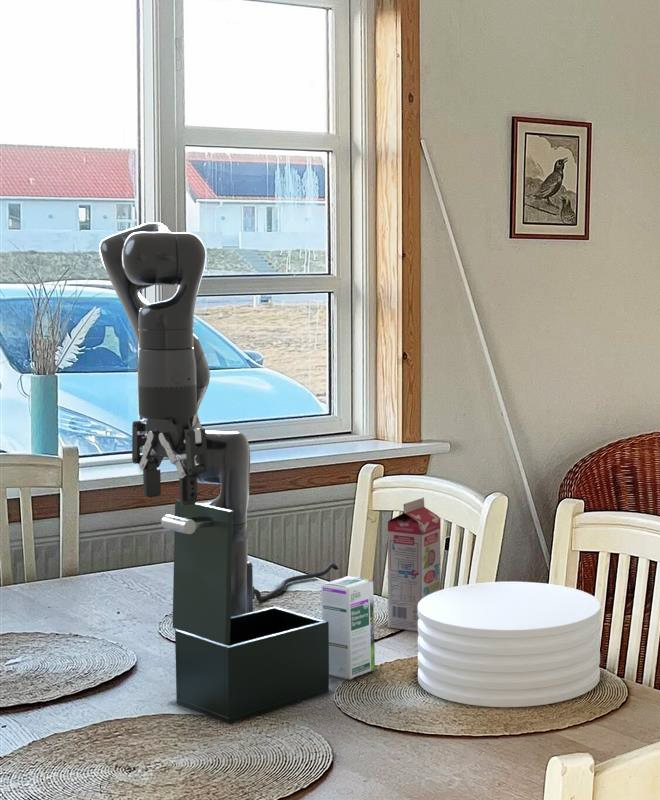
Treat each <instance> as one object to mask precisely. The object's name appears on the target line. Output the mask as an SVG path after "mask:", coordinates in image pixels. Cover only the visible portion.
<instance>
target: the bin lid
mask: <svg viewBox="0 0 660 800" xmlns="http://www.w3.org/2000/svg"><path fill="white" fill-rule="evenodd" d="M160 525H161V527H162V528H164V529H165V530H170V531H174V534H173V535H174V537H173V580H172V581H173V583H172V585H173V586H172V628H173V629H174V630H175V629H176V630H181V631H184V632H187V633H190V634H193V635H196V636H200V637H203V638H206V639H209V640H212V641H215V642H218V643H221V644H224V645H228V644H230V623H231V581H232V539H233V511H231V510H227V509H222V508H218V507H213V506H209V505H204V504H202V503H199V502H196V503H195V504H191V505H182V504H180V498H177V499H174V515H173V514H165V515H163V516H162V518H161V520H160Z"/></svg>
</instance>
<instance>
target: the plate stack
mask: <svg viewBox="0 0 660 800" xmlns="http://www.w3.org/2000/svg"><path fill="white" fill-rule="evenodd" d="M601 614H602V605H601V602H600V601H599V599H598V598H597V597H596V596H594V595H592V594H591V593H589V592H586V591H583V590H581V589H577V588H573V587H569V586H565V585H559V584H555V583H554V584H553V583H545V582H532V581H489V582H488V581H487V582H476V583H468V584H461V585H455V586H451V587H448V588H443V589H440V590H439V591H436V592H434V593H431V594H429V595H427V596H426V597H424V598H423V599H422V600H421V601H420V602H419V603H418V617H419V620H418V631H417V633H418V635H417V650H418V652H417V665H418V669H417V682H418V684H419V686H420V687H421V688H422V689H423V690H424V691H425V692H427V693H429V694H431V695H433V696H434V697H438V698H439V699H443V700H446V701H449V702H452V703H453V702H454V703H458V704H463V705H469V706H478V707H487V708H489V707H490V708H524V707H525V708H527V707H535V706H536V707H537V706H544V705H551V704H556V703H561V702H565V701H568V700H572V699H575V698H578V697H581V696H582V695H585V694H587V693H588V692H590V691H592V690H593V689H595V688H596V687H597V686H598V684H599V682H600V680H601V668H600V664H601V651H600V648H601V634H600V633H601V629H602V627H601V625H602V624H601V623H602V622H601V618H600V617H601Z"/></svg>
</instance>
